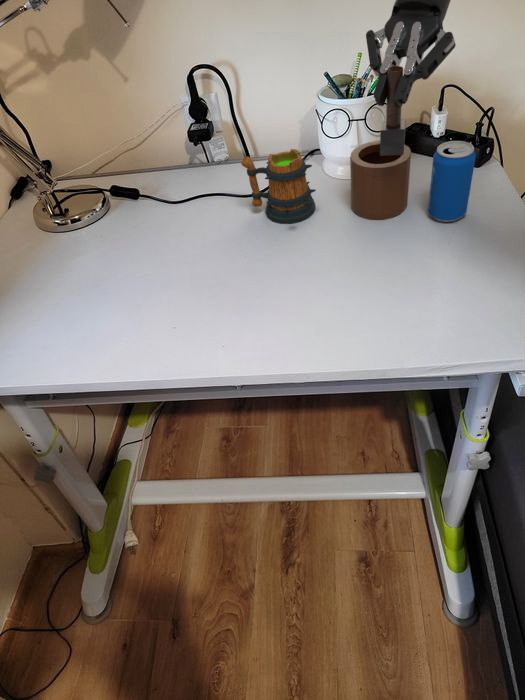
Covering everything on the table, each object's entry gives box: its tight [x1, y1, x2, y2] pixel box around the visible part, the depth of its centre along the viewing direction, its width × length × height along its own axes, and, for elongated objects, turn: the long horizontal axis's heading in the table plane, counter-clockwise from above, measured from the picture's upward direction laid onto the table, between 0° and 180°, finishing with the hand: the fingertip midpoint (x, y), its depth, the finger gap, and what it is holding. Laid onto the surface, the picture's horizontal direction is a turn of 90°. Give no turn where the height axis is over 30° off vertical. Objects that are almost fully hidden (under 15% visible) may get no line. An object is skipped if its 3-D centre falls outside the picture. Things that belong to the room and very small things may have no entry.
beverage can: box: [427, 140, 477, 223], centre depth 86 cm, size 6×6×12 cm
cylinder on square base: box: [379, 65, 407, 156], centre depth 77 cm, size 4×4×12 cm
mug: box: [240, 148, 316, 225], centre depth 94 cm, size 13×10×12 cm
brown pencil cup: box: [349, 140, 412, 221], centre depth 91 cm, size 10×10×10 cm
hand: (388, 103), depth 74 cm, fingers closed on cylinder on square base, 2 cm apart
